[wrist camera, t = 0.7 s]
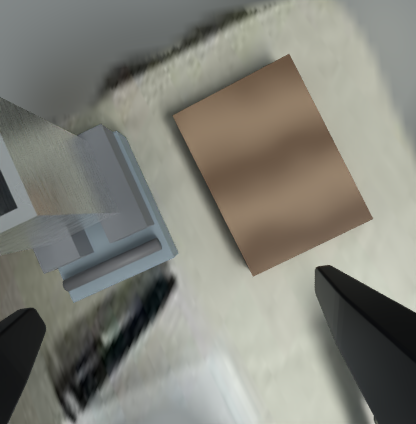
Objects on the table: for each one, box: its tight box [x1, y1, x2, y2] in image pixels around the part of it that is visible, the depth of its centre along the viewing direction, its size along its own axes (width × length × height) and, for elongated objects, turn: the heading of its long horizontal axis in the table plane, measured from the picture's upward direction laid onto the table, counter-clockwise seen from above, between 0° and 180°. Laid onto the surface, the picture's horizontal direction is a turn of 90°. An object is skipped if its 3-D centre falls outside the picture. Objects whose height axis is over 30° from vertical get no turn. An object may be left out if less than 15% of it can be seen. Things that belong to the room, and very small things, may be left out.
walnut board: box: [173, 54, 373, 276], centre depth 20 cm, size 14×10×2 cm
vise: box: [33, 124, 178, 303], centre depth 18 cm, size 11×9×7 cm
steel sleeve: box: [0, 97, 120, 255], centre depth 14 cm, size 6×6×8 cm
